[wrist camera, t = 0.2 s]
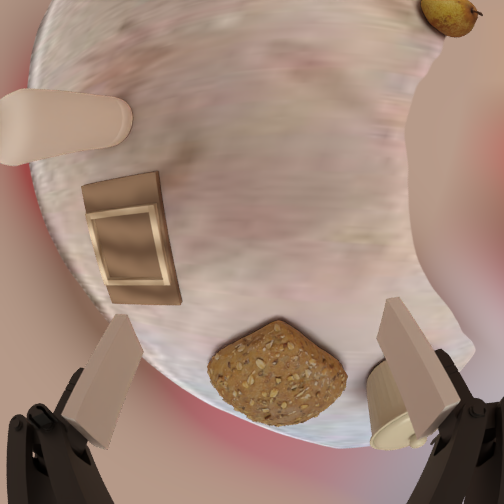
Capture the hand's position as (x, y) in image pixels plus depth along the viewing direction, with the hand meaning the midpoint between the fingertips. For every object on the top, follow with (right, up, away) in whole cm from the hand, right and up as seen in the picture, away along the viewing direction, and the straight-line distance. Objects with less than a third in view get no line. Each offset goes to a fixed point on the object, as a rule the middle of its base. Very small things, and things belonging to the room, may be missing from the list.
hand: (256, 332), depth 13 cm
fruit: (+30, +42, +10) cm, 53 cm away
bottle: (-21, +24, +21) cm, 38 cm away
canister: (+31, -23, +38) cm, 54 cm away
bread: (+5, -18, +38) cm, 42 cm away
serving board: (-20, +5, +29) cm, 35 cm away
